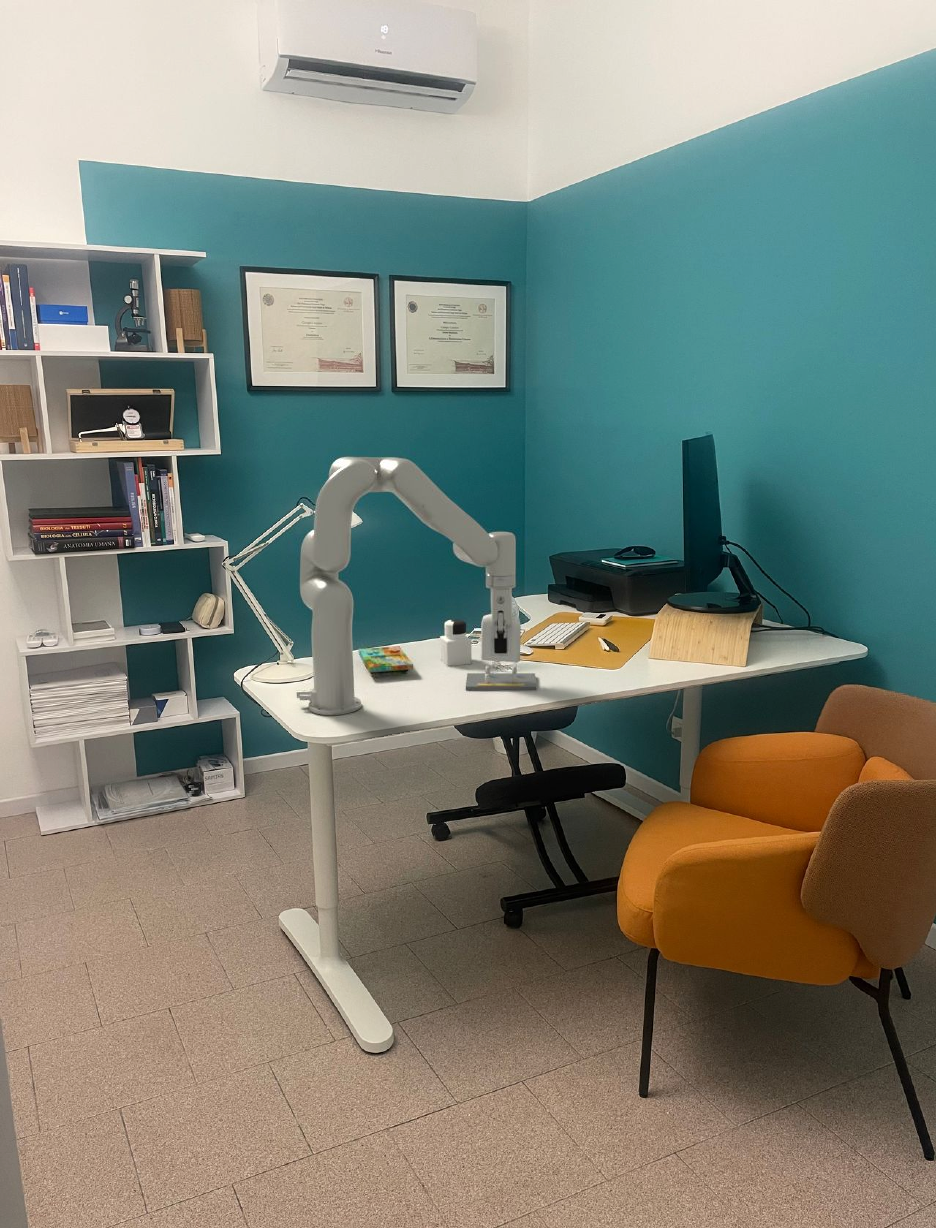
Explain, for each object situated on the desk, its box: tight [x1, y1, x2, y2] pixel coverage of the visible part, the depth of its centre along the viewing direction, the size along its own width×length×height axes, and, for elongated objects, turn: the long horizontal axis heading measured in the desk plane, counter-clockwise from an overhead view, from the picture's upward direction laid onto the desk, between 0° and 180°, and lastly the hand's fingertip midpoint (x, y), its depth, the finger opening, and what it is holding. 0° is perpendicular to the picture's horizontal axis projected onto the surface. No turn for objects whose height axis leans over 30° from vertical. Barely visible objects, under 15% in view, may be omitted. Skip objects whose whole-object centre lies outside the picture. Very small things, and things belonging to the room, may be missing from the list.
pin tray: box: [465, 665, 538, 691], centre depth 244 cm, size 18×12×4 cm, turn 88°
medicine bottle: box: [439, 619, 473, 667], centre depth 264 cm, size 7×7×12 cm
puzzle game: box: [358, 645, 414, 677], centre depth 259 cm, size 12×5×20 cm
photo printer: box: [480, 613, 522, 663], centre depth 242 cm, size 10×4×12 cm, turn 78°
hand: (500, 649), depth 243 cm, fingers closed on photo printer, 4 cm apart
